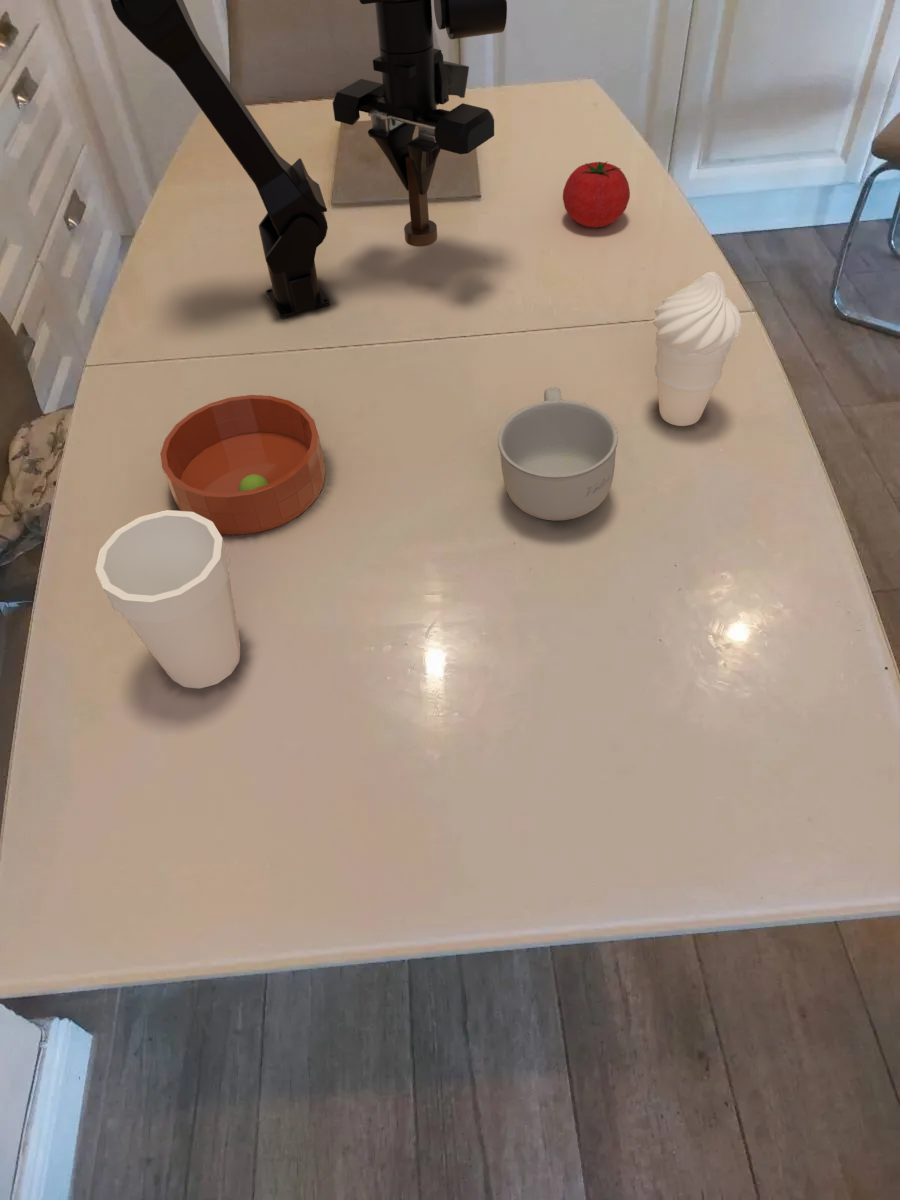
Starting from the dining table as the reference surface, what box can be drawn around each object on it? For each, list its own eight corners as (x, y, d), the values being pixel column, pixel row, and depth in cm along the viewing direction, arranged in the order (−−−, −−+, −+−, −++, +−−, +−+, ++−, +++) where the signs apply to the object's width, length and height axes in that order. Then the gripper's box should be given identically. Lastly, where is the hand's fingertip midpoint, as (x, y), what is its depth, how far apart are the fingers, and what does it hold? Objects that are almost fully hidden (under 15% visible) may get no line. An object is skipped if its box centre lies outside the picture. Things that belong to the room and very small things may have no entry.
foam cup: (156, 620, 81) (107, 515, 71) (260, 610, 81) (226, 504, 71) (142, 709, 75) (86, 608, 65) (254, 698, 75) (216, 595, 65)
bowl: (159, 460, 95) (145, 422, 91) (298, 417, 99) (290, 378, 95) (195, 555, 86) (180, 517, 82) (346, 503, 89) (339, 464, 86)
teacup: (605, 543, 84) (612, 478, 78) (489, 530, 86) (488, 466, 80) (617, 446, 93) (625, 381, 87) (513, 437, 95) (513, 372, 89)
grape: (234, 481, 86) (245, 511, 87) (264, 472, 87) (275, 502, 88) (234, 477, 89) (244, 506, 90) (263, 468, 89) (273, 497, 90)
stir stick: (398, 241, 112) (390, 158, 104) (418, 227, 114) (411, 145, 106) (424, 250, 110) (418, 166, 102) (443, 235, 112) (439, 152, 104)
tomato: (637, 214, 124) (644, 154, 118) (609, 243, 119) (614, 183, 113) (580, 200, 127) (583, 141, 121) (549, 228, 123) (552, 168, 116)
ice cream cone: (671, 449, 92) (696, 308, 80) (624, 405, 97) (640, 266, 85) (737, 422, 95) (771, 281, 82) (687, 380, 100) (713, 242, 87)
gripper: (522, 34, 96) (520, 182, 108) (384, 7, 103) (396, 148, 115) (462, 70, 90) (467, 222, 102) (320, 39, 98) (340, 183, 110)
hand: (417, 191), depth 107 cm, fingers closed on stir stick, 2 cm apart
